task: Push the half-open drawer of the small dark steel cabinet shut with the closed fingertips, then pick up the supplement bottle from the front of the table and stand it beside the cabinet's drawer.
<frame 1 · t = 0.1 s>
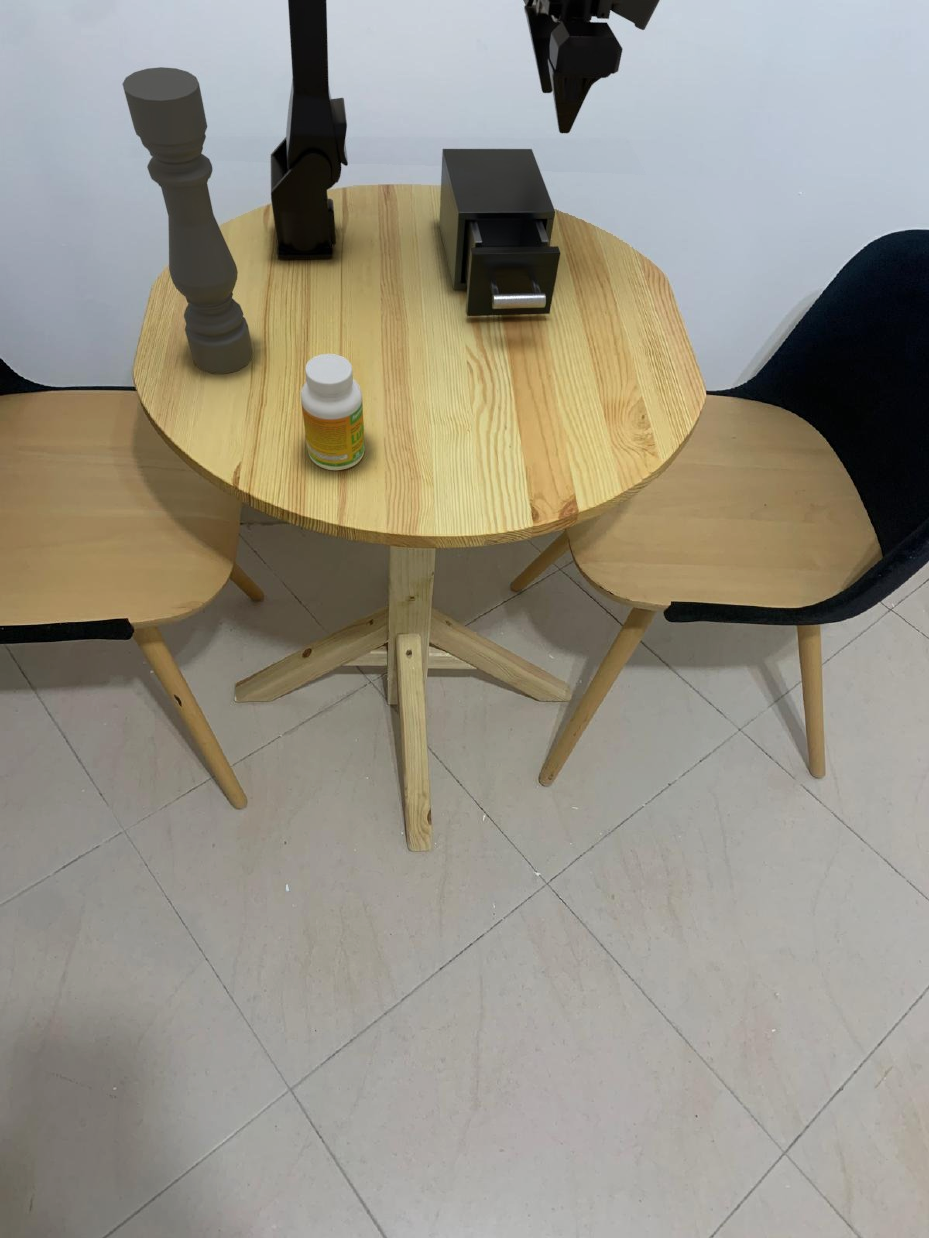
hand: (555, 112, 84), 15 cm above the table, tool pointing down, fingers open, 9 cm apart
supplement bottle: (336, 453, 74), on the table
drawer: (505, 262, 85), point 5 cm above the table, slide at 5.0 cm
candle holder: (223, 356, 80), on the table
cabinet: (489, 255, 94), on the table
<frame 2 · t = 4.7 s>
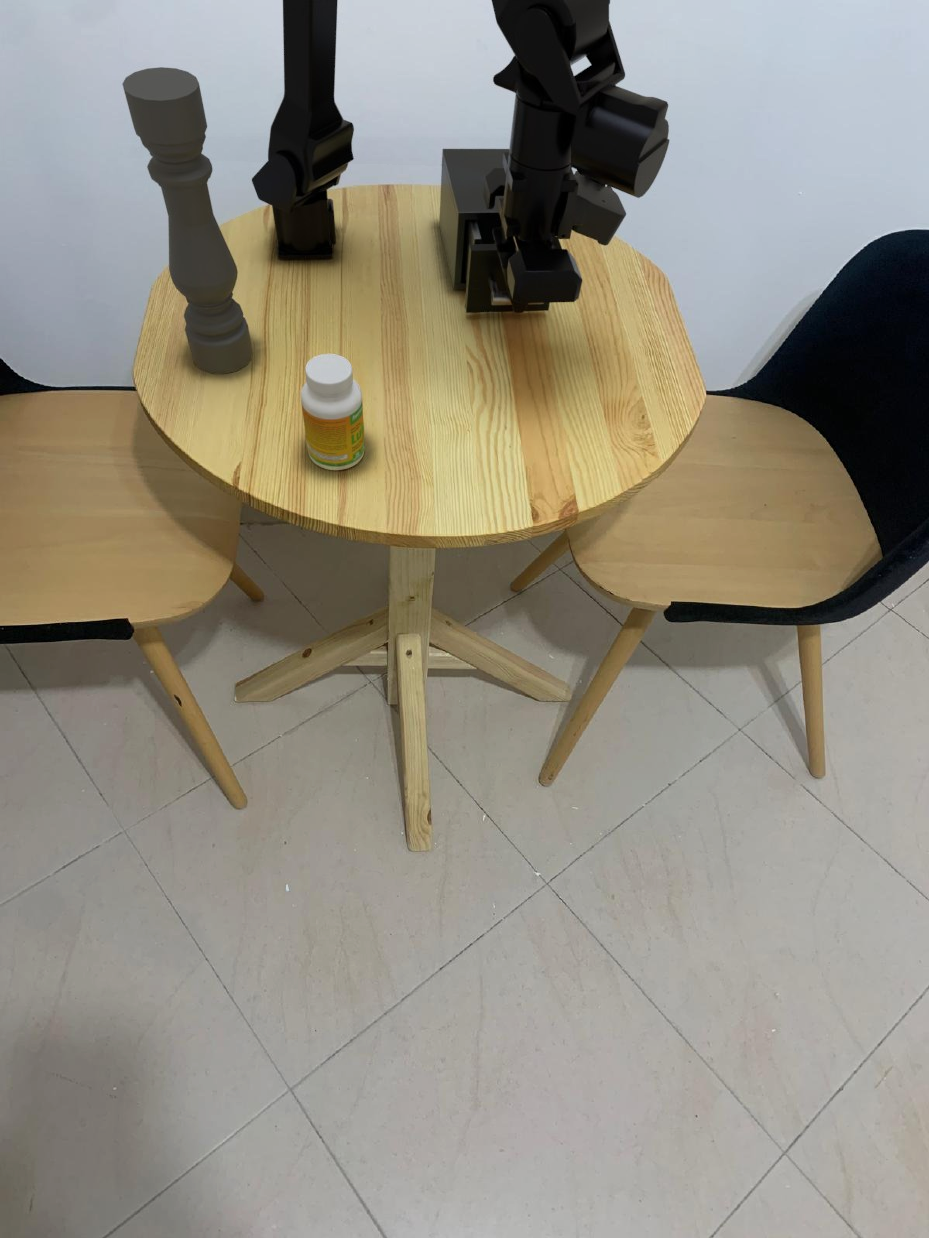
hand: (518, 311, 81), 4 cm above the table, tool pointing down, fingers closed
drawer: (504, 259, 85), point 5 cm above the table, slide at 4.4 cm, touching gripper
everything else where it was.
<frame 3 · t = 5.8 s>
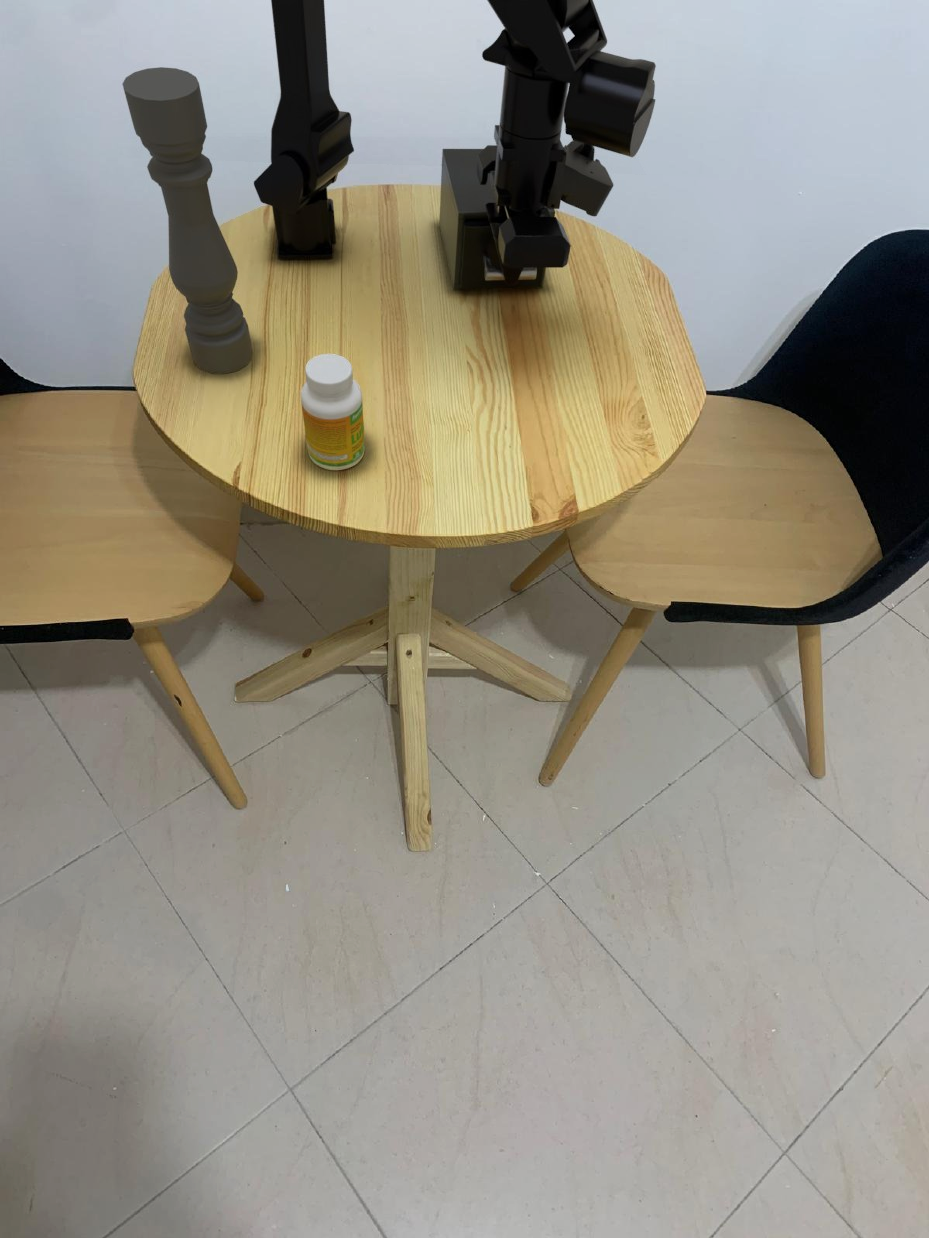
hand: (510, 284, 83), 4 cm above the table, tool pointing down, fingers closed
drawer: (498, 237, 88), point 5 cm above the table, slide at 0.0 cm, touching cabinet, gripper
everything else where it was.
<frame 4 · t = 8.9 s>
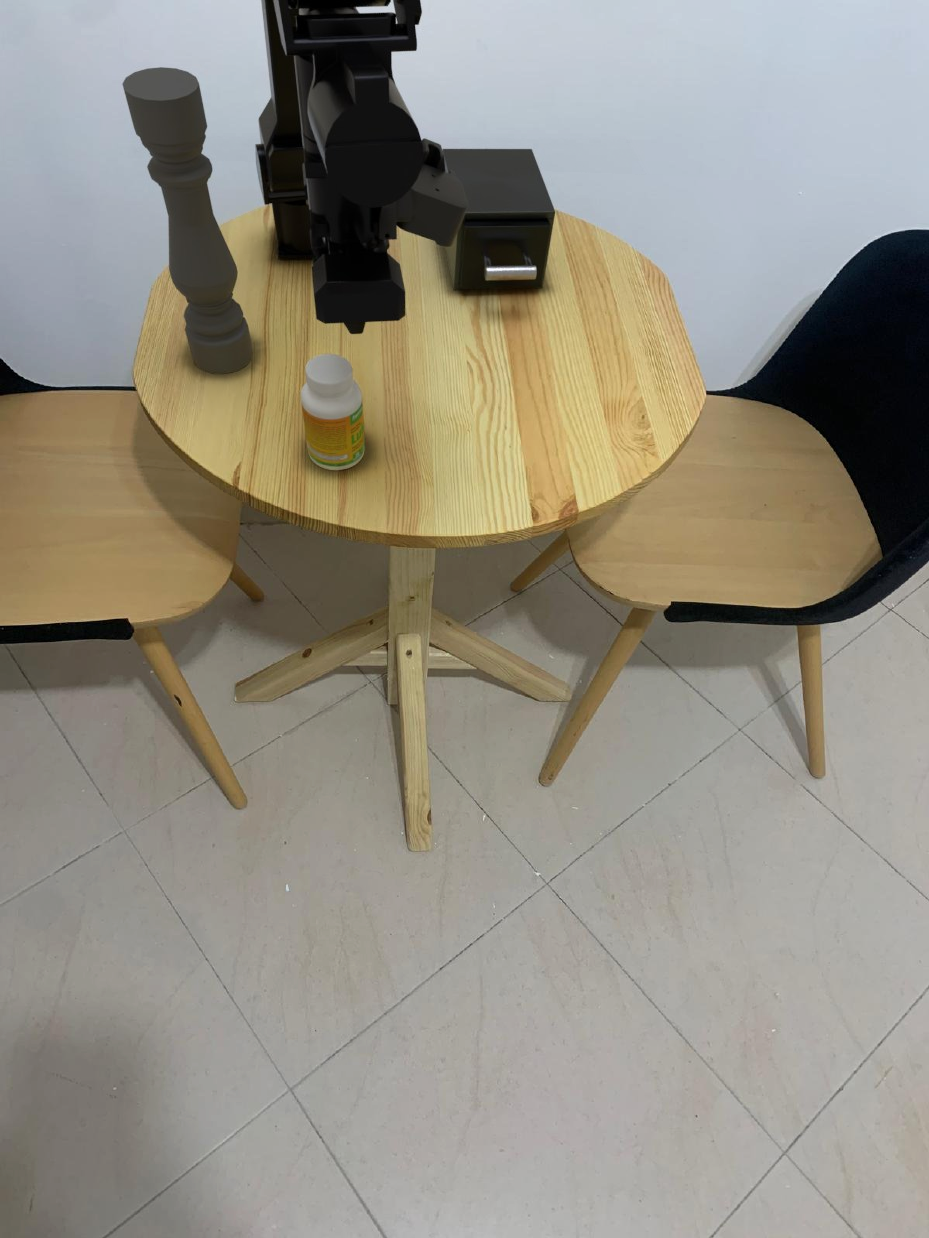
hand: (356, 331, 65), 12 cm above the table, tool pointing down, fingers closed
drawer: (498, 237, 88), point 5 cm above the table, slide at 0.0 cm
everything else where it was.
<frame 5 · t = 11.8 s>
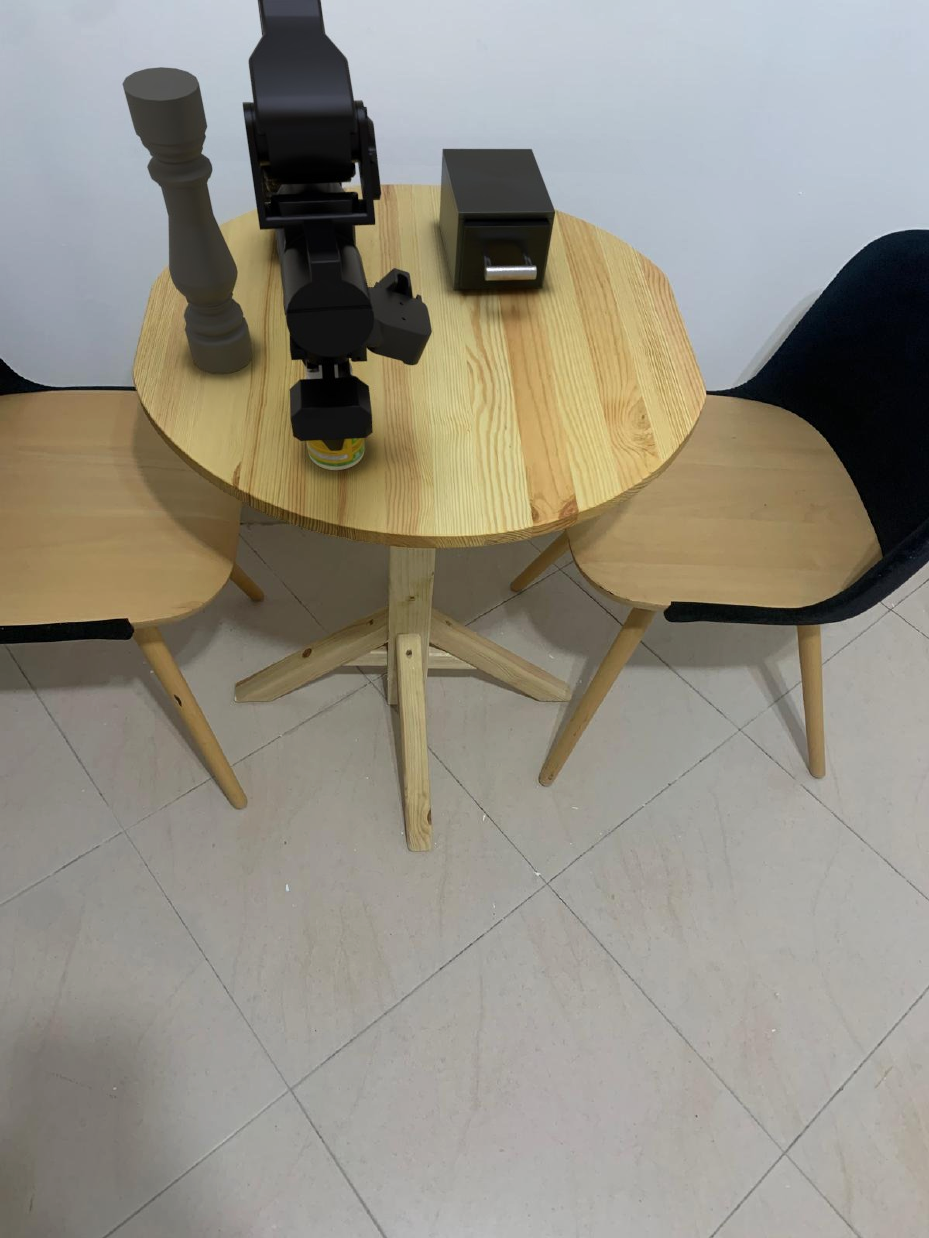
hand: (334, 427, 71), 3 cm above the table, tool pointing down, fingers closed on supplement bottle, 5 cm apart
supplement bottle: (336, 453, 74), on the table, touching gripper
everything else where it was.
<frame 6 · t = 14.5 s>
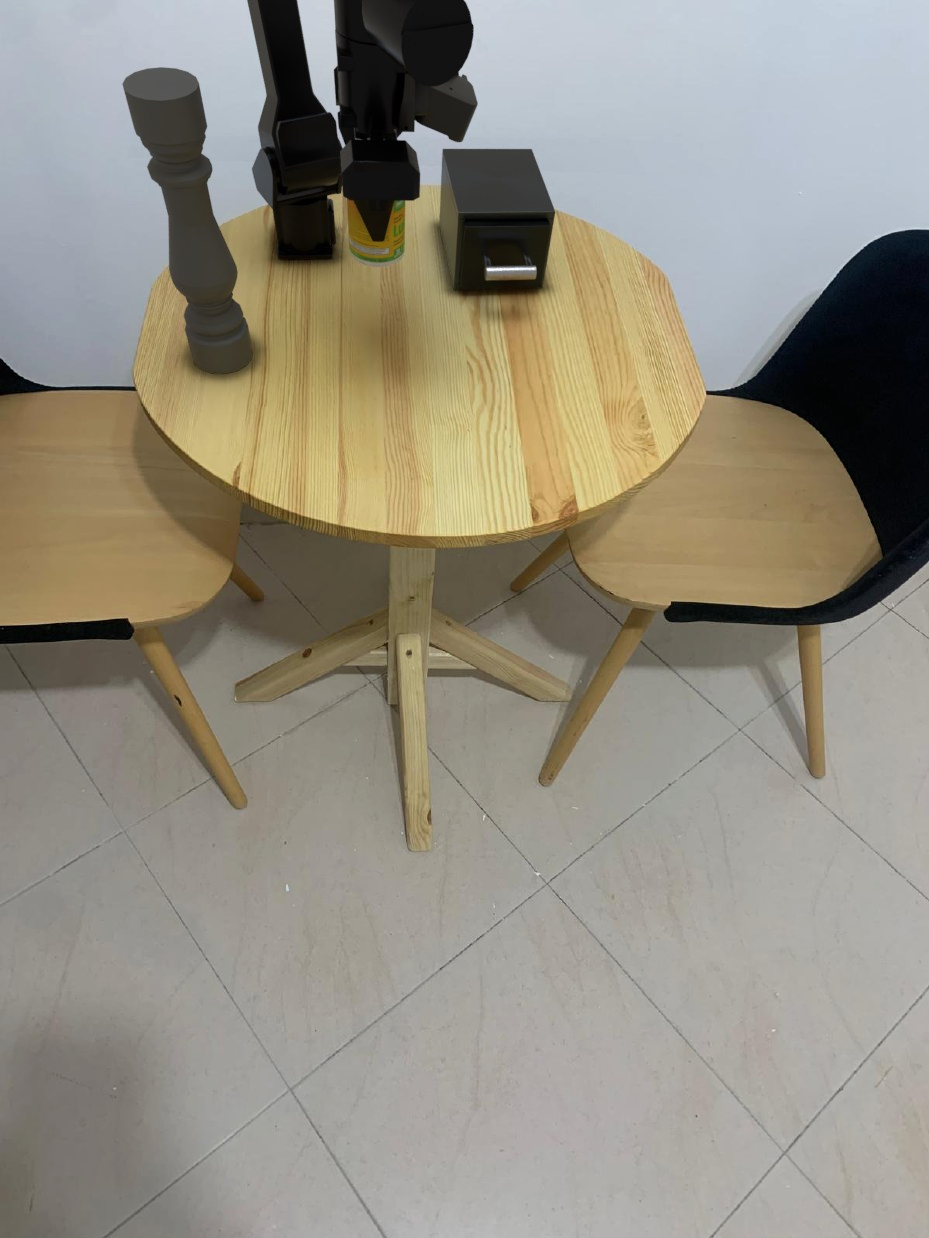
hand: (376, 223, 73), 13 cm above the table, tool pointing down, fingers closed on supplement bottle, 5 cm apart
supplement bottle: (377, 255, 76), point 9 cm above the table, touching gripper
everything else where it was.
when the fingers open (3 cm above the table, at t = 17.7 s): supplement bottle stays where it is, on the table.
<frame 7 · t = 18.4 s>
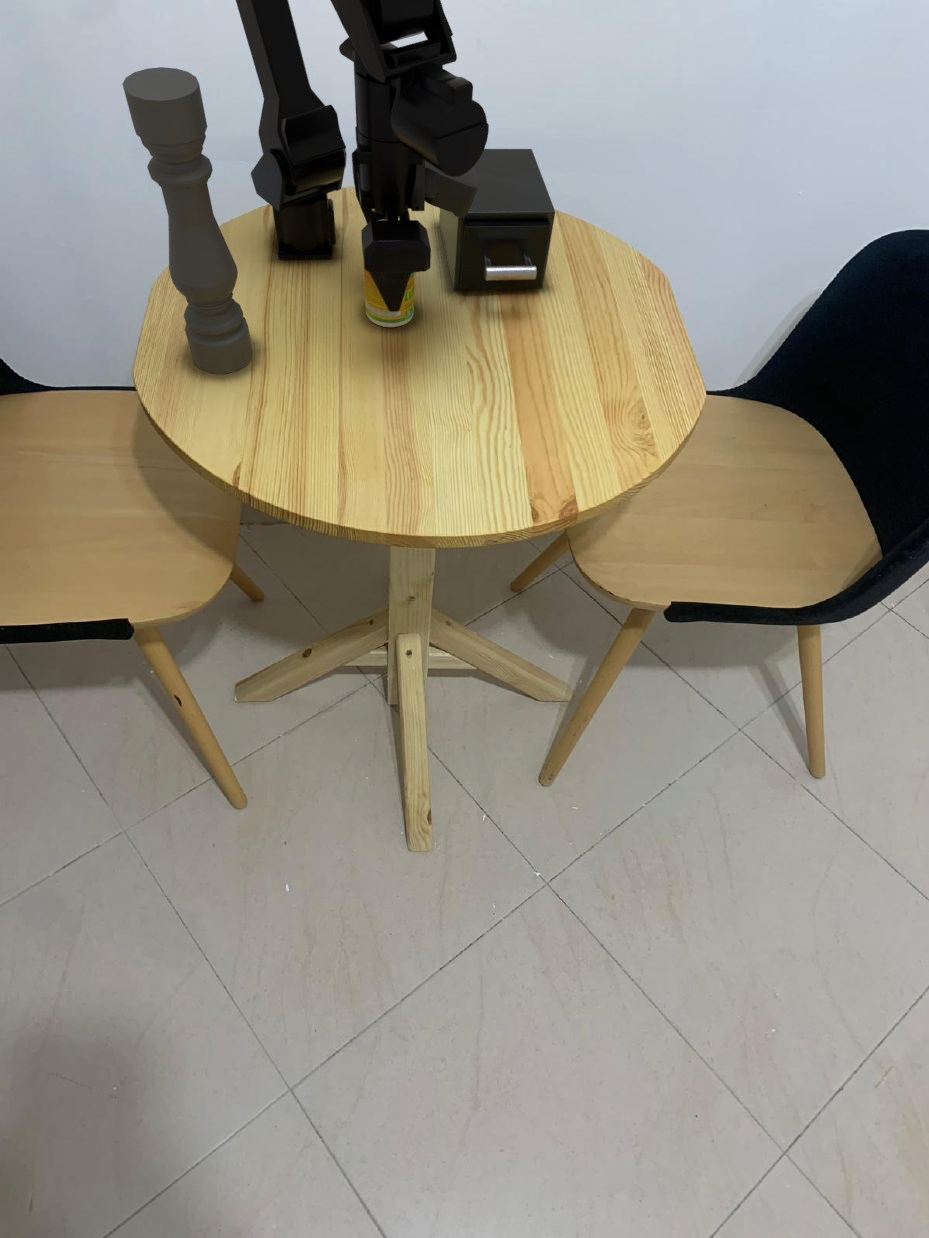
hand: (390, 284, 83), 4 cm above the table, tool pointing down, fingers open, 9 cm apart
supplement bottle: (389, 315, 86), on the table
everything else where it was.
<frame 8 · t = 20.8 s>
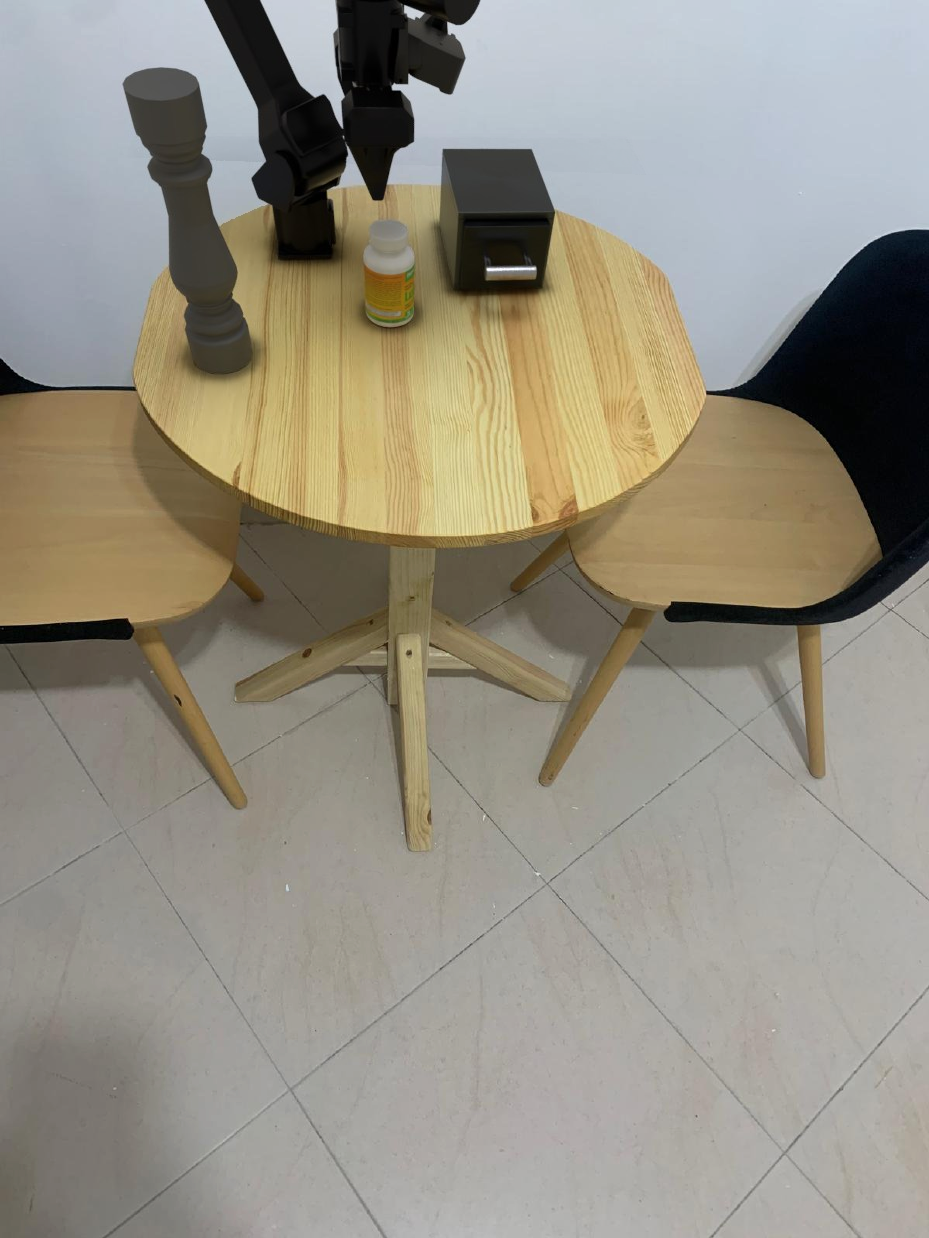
hand: (374, 176, 79), 12 cm above the table, tool pointing down, fingers open, 9 cm apart
nothing on the table moved.
at the end: drawer slide at 0.0 cm; supplement bottle 0.1 cm from the target spot on the table beside the cabinet, on the table; supplement bottle tilted 0° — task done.
